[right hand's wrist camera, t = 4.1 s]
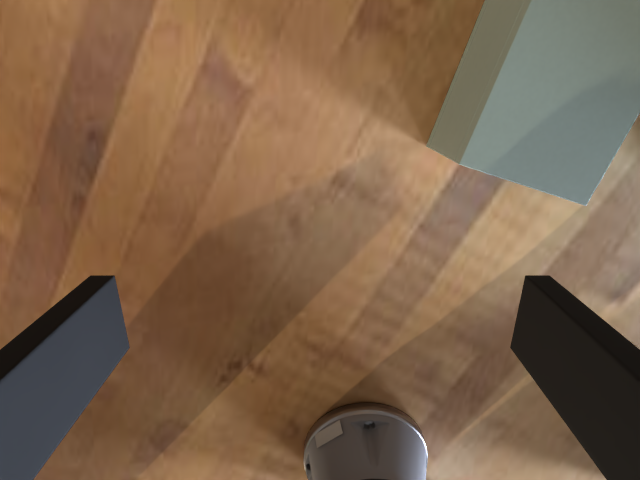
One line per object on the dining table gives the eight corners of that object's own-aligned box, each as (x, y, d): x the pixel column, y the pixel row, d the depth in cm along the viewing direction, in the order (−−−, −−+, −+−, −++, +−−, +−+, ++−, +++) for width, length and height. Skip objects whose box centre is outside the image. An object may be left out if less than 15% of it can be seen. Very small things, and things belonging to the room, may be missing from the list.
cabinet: (534, -125, 30) (625, -214, 21) (652, -74, 31) (785, -139, 22) (425, 146, 37) (458, 164, 28) (524, 178, 38) (586, 206, 29)
